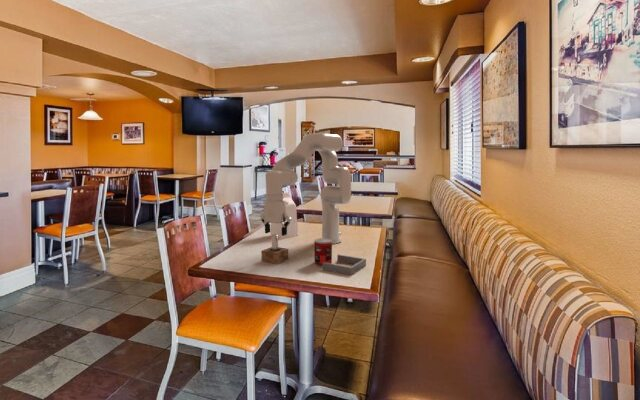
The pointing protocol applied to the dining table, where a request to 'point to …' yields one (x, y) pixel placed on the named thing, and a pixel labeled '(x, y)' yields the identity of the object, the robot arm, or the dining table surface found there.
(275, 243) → the pin
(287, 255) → the block
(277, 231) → the milk
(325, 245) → the canned food
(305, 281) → the dining table surface
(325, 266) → the tray
